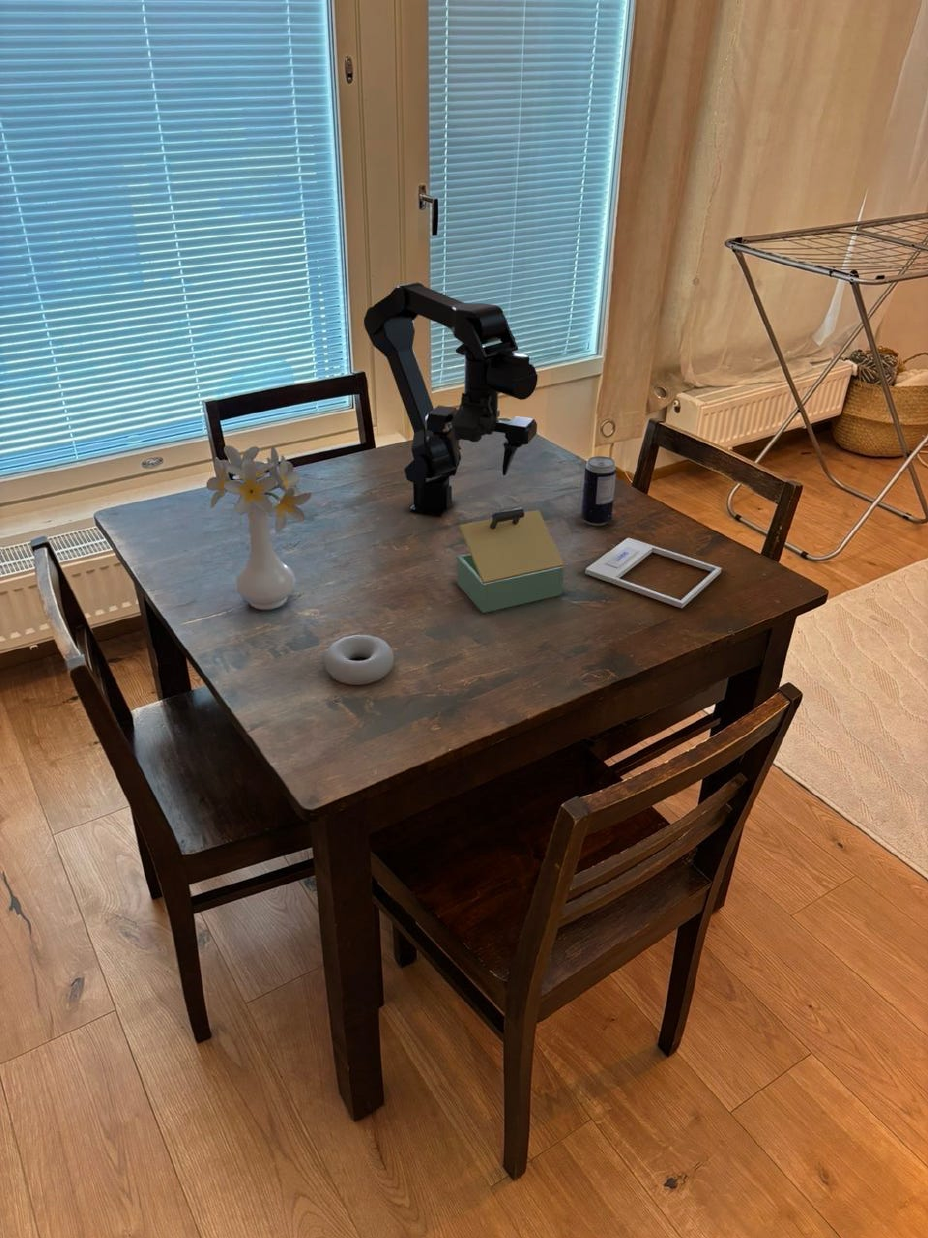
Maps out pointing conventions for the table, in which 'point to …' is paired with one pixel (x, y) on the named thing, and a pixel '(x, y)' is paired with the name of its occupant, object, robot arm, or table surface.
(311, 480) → the table surface
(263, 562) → the flower vase
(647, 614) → the table surface
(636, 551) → the photo frame
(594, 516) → the beverage can
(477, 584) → the lunchbox
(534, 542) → the lunchbox lid
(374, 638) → the donut
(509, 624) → the table surface
